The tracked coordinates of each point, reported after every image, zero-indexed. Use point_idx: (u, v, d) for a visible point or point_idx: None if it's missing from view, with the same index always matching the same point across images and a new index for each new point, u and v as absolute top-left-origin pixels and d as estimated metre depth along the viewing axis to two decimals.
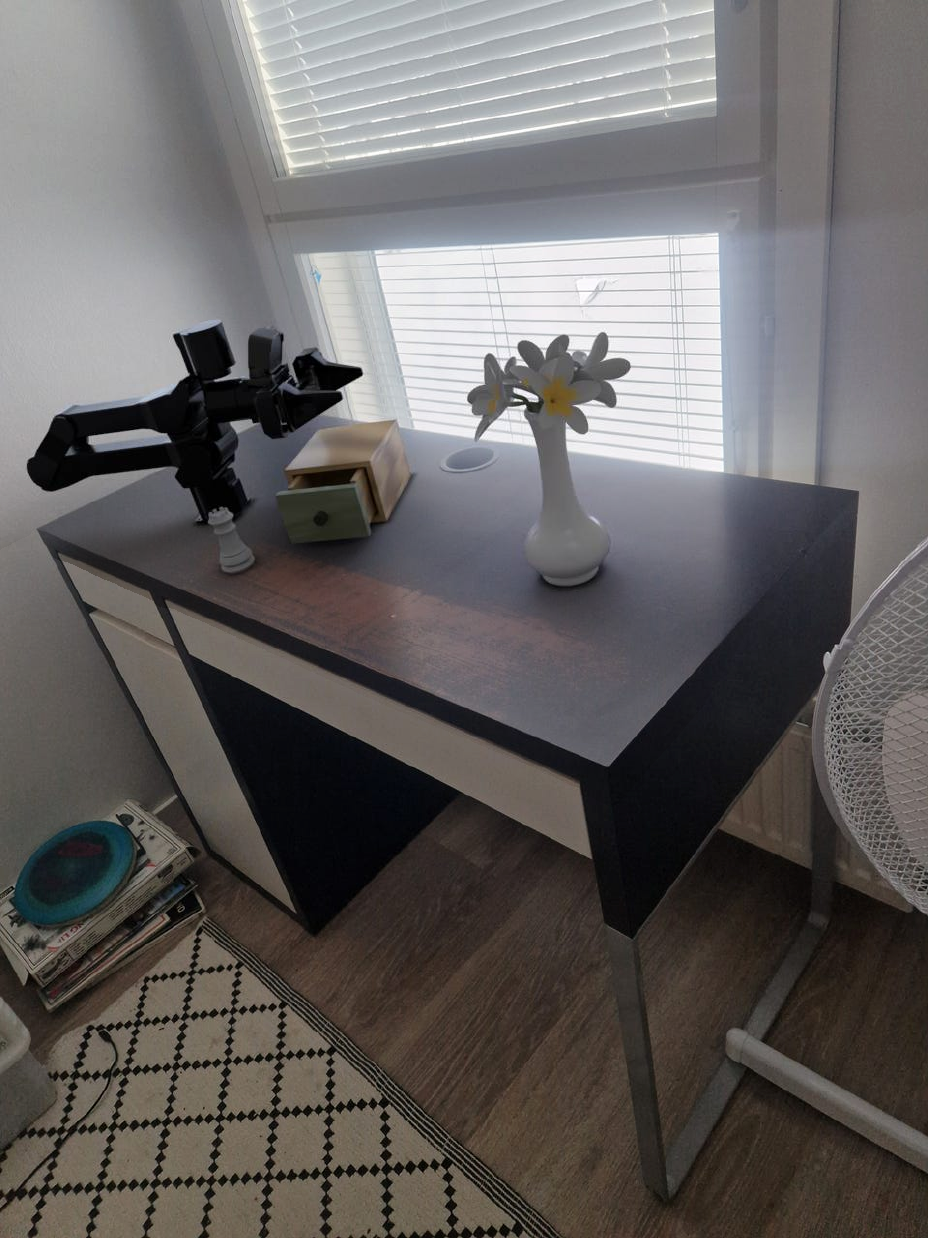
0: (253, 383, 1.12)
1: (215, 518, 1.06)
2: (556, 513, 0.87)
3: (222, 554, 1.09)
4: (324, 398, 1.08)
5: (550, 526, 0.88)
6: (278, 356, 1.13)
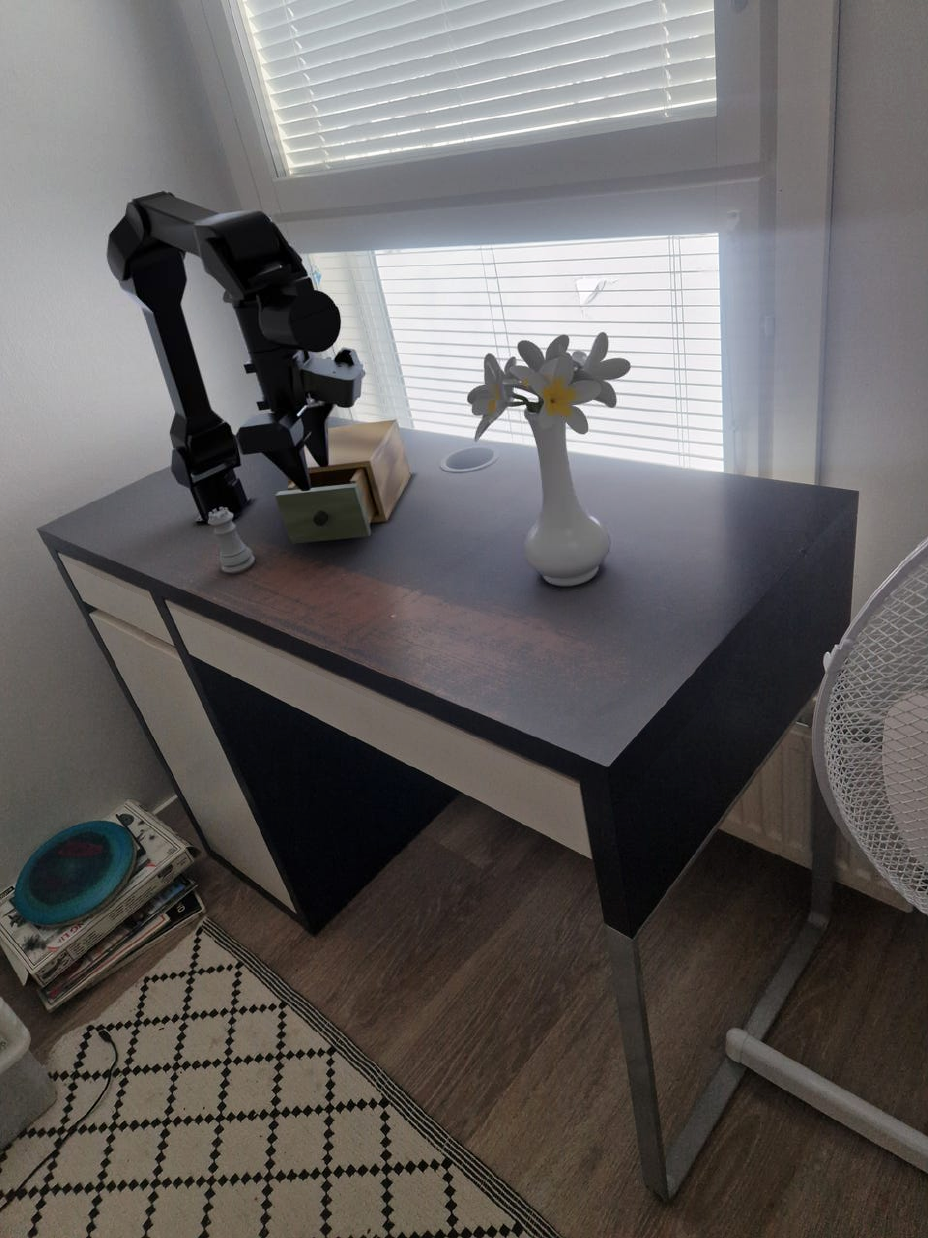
0: (295, 379, 0.89)
1: (215, 518, 1.06)
2: (556, 513, 0.87)
3: (222, 554, 1.09)
4: (299, 476, 0.94)
5: (550, 526, 0.88)
6: None
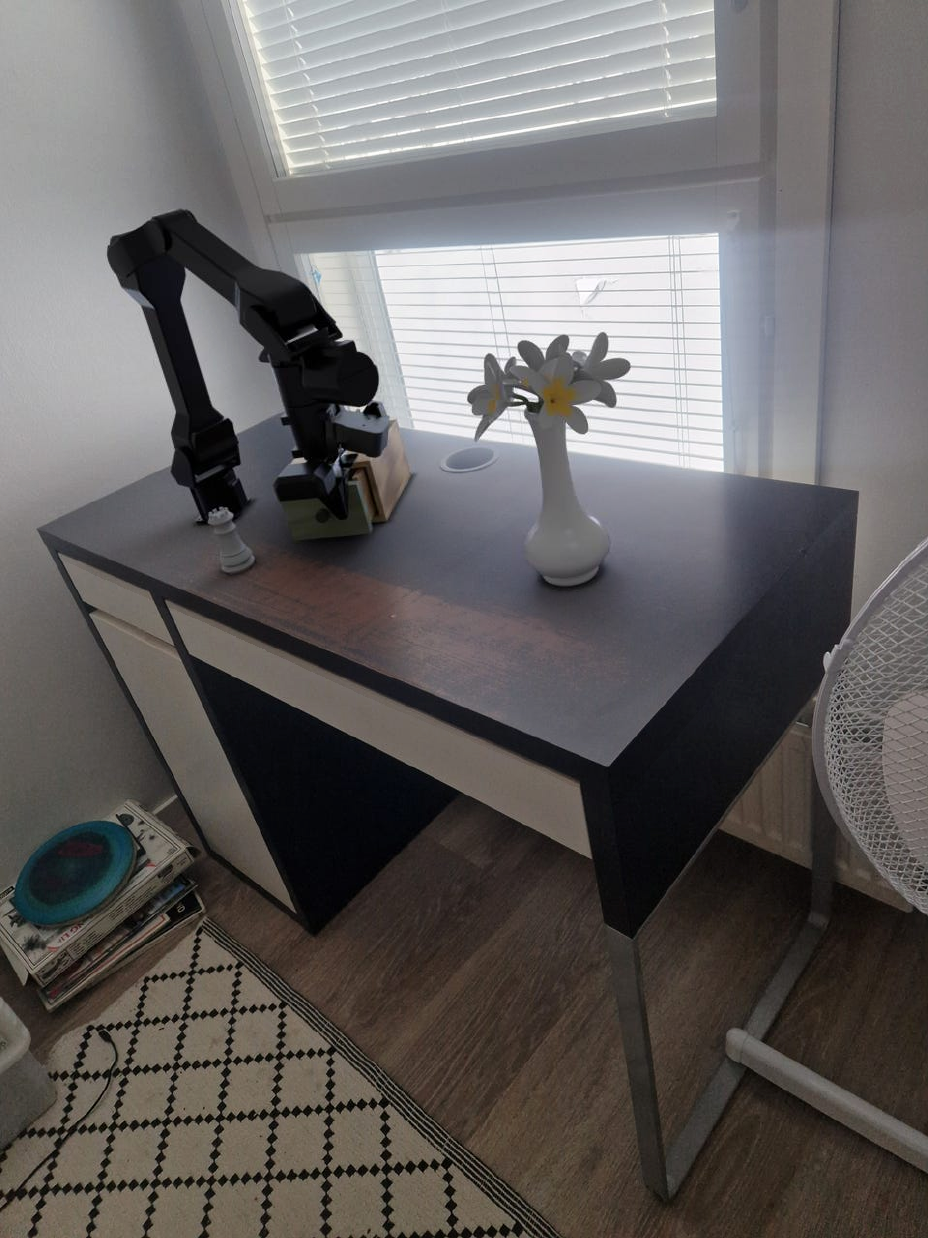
0: (328, 431, 0.97)
1: (215, 518, 1.06)
2: (556, 513, 0.87)
3: (222, 554, 1.09)
4: (338, 507, 1.04)
5: (550, 526, 0.88)
6: None
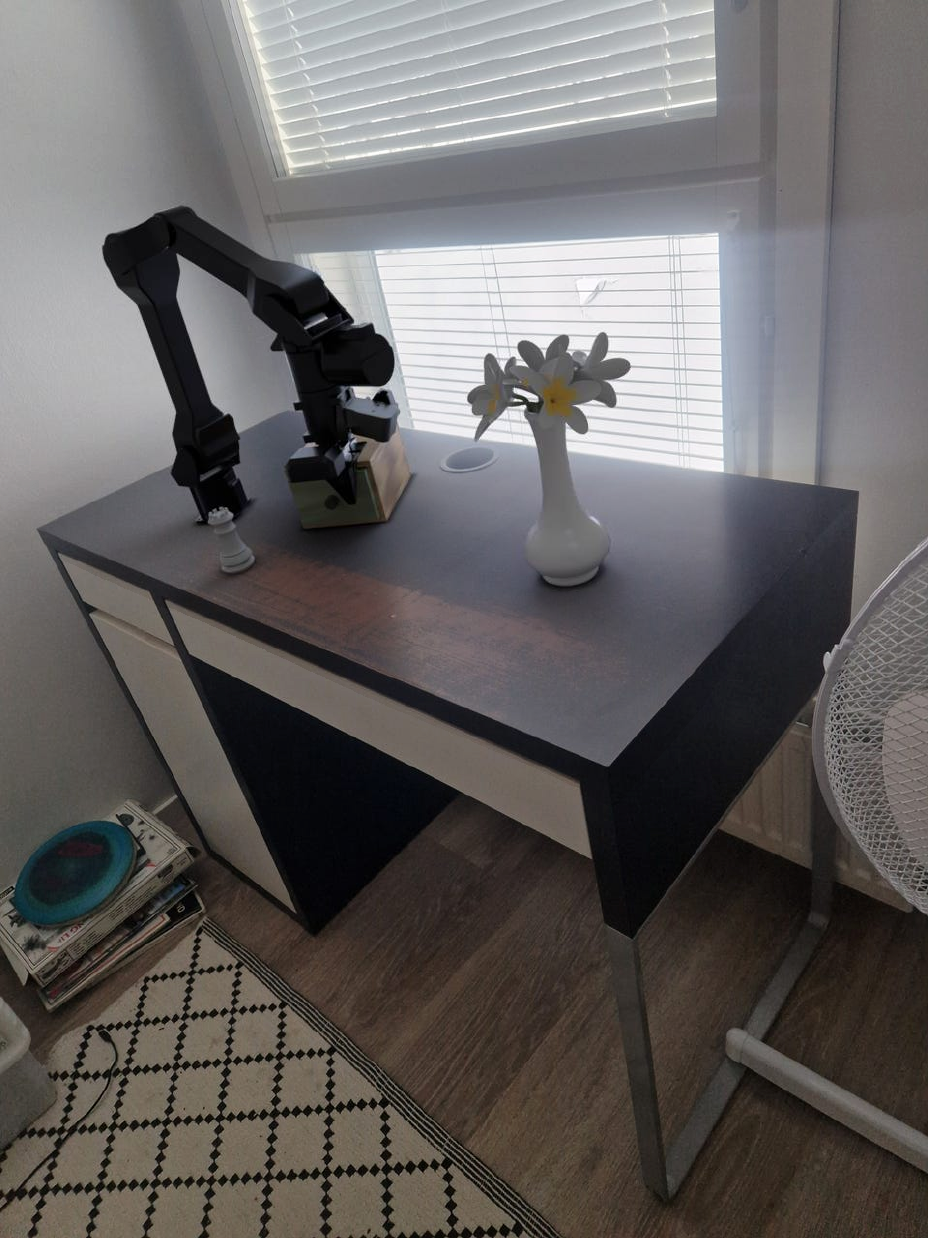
0: (338, 416, 1.00)
1: (215, 518, 1.06)
2: (556, 513, 0.87)
3: (222, 554, 1.09)
4: (347, 491, 1.08)
5: (550, 526, 0.88)
6: None
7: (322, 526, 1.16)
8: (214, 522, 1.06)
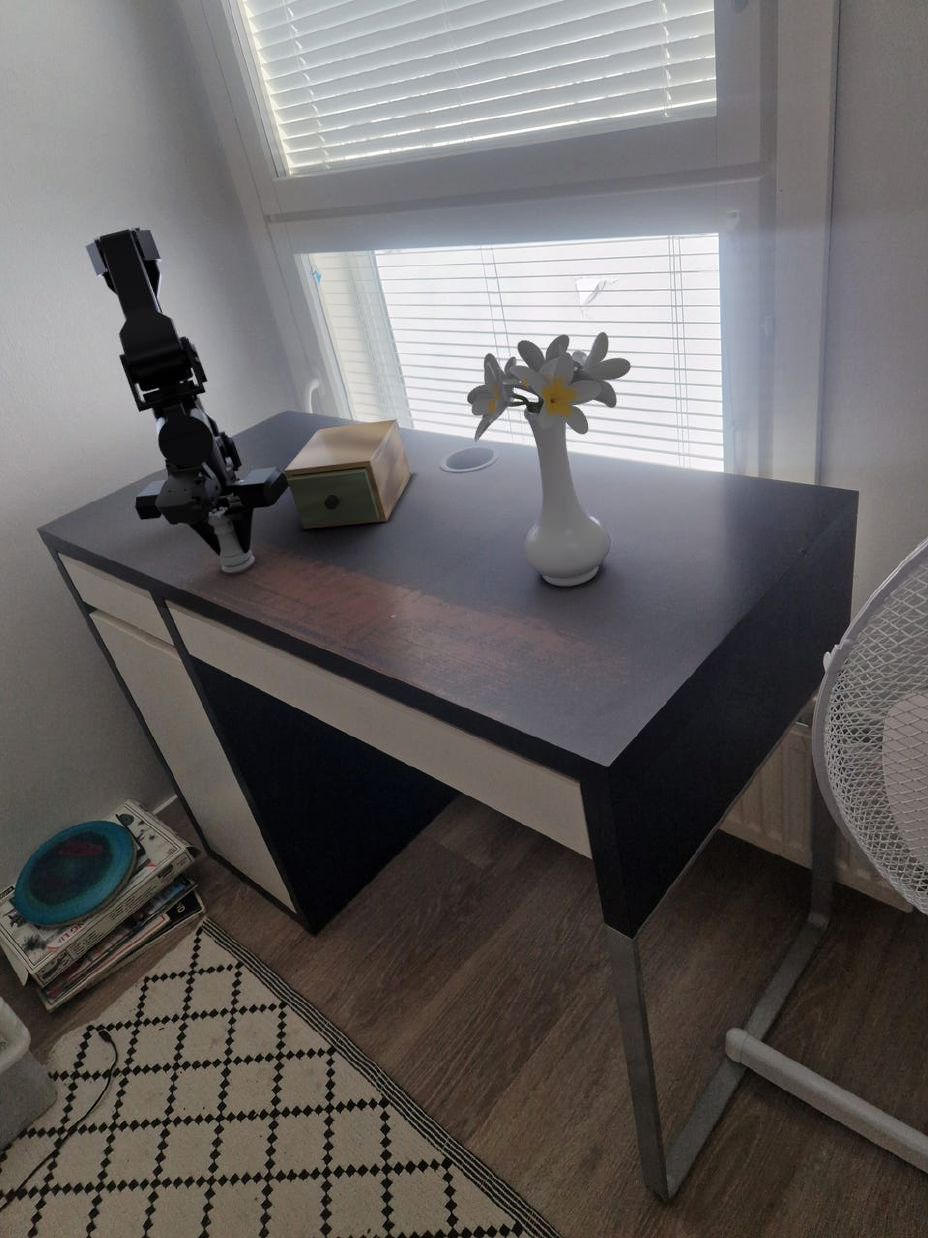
0: None
1: (215, 518, 1.06)
2: (556, 513, 0.87)
3: (222, 554, 1.09)
4: None
5: (550, 526, 0.88)
6: None
7: (322, 526, 1.16)
8: (214, 522, 1.06)
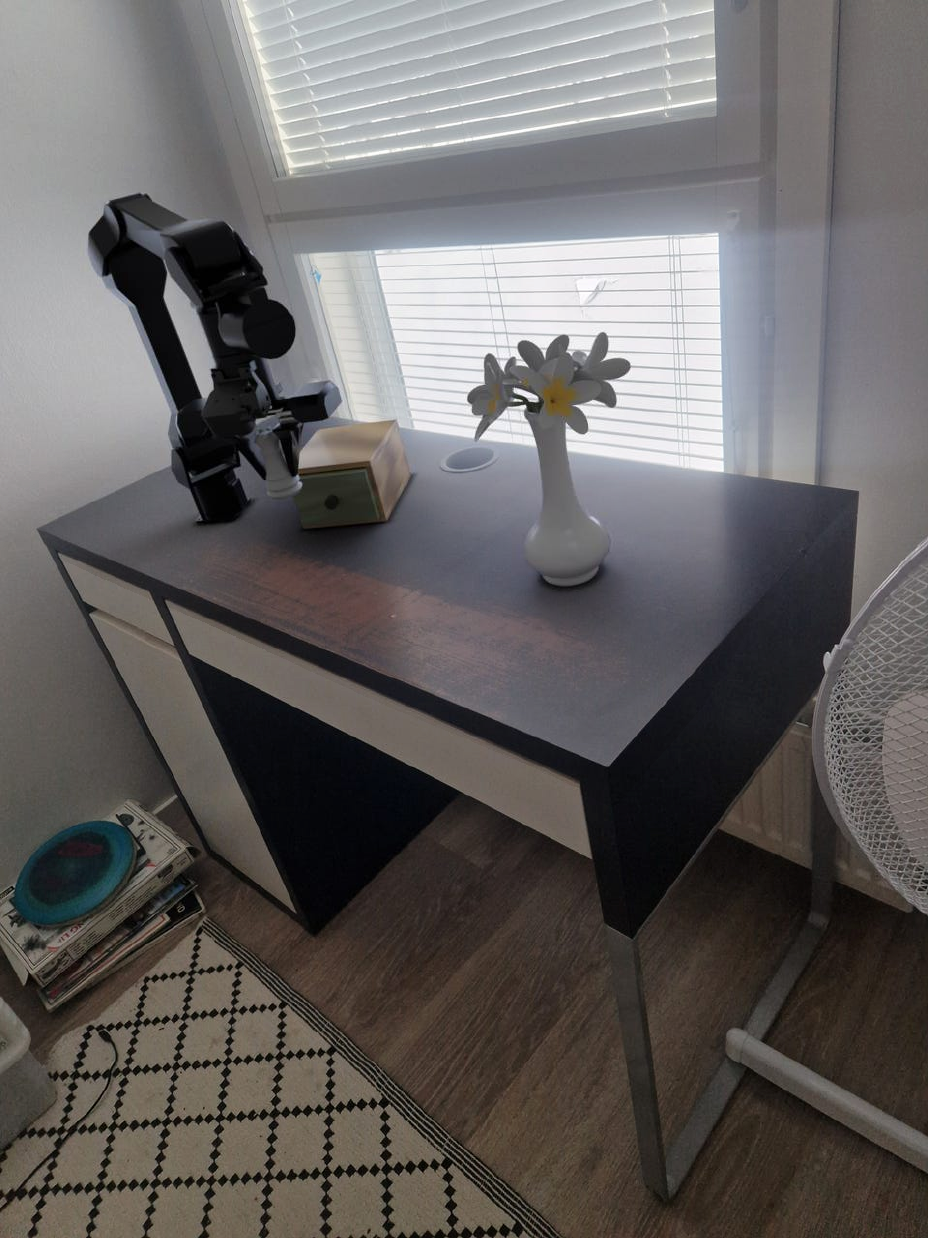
0: None
1: (262, 437, 0.98)
2: (556, 513, 0.87)
3: (268, 478, 1.01)
4: None
5: (550, 526, 0.88)
6: None
7: (322, 526, 1.16)
8: (261, 441, 0.98)
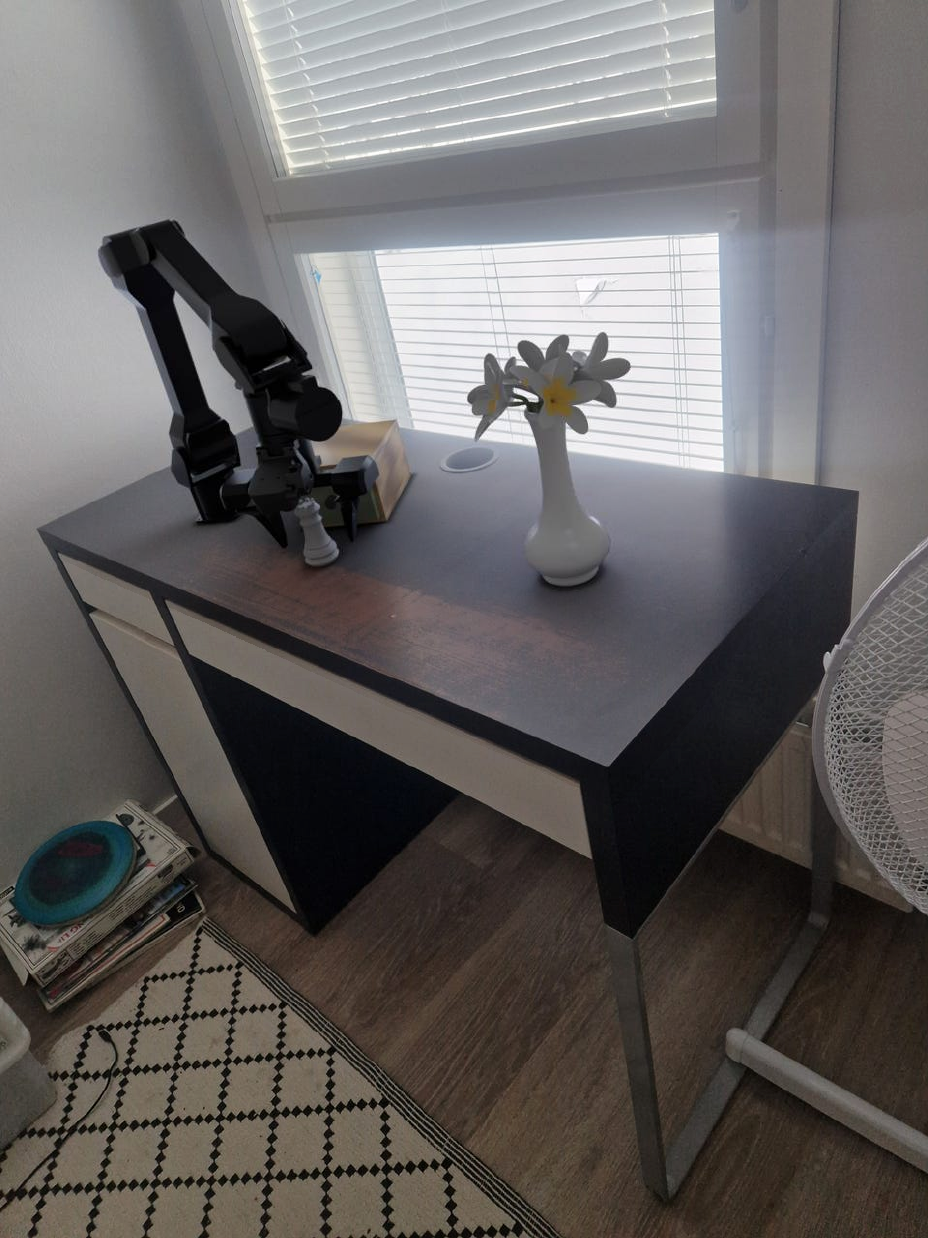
0: None
1: (302, 509, 1.03)
2: (556, 513, 0.87)
3: (307, 546, 1.06)
4: None
5: (550, 526, 0.88)
6: None
7: None
8: (301, 513, 1.03)
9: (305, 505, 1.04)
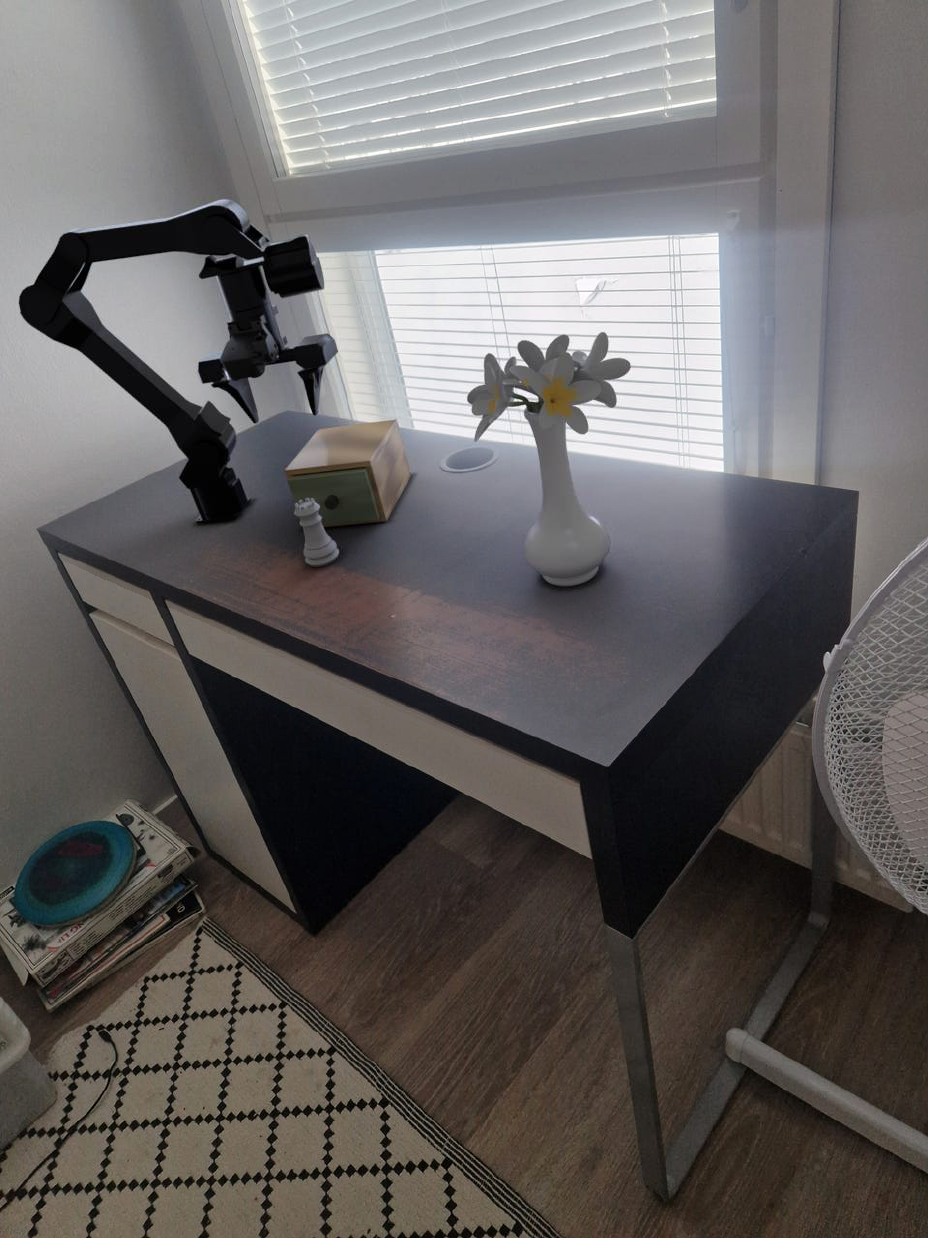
0: None
1: (302, 509, 1.03)
2: (556, 513, 0.87)
3: (307, 546, 1.06)
4: None
5: (550, 526, 0.88)
6: None
7: None
8: (301, 513, 1.03)
9: (305, 505, 1.04)
